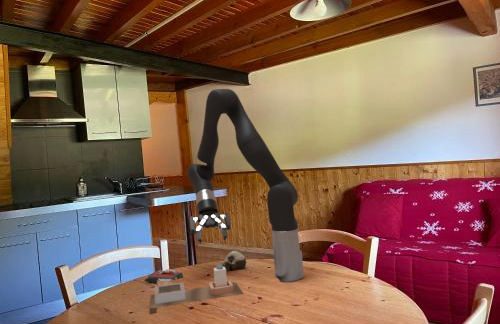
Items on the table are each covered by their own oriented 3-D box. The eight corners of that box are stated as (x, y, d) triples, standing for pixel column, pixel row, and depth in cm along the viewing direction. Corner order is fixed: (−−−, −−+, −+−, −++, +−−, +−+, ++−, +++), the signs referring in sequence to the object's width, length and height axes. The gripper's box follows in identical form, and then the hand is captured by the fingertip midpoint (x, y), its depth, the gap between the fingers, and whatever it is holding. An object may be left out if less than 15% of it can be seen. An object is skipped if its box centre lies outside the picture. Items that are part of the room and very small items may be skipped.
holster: (230, 285, 125) (229, 279, 125) (234, 292, 118) (233, 285, 118) (209, 288, 124) (208, 282, 124) (211, 295, 117) (211, 289, 117)
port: (183, 291, 123) (183, 281, 123) (185, 300, 114) (184, 290, 114) (155, 295, 121) (154, 285, 121) (155, 305, 112) (154, 294, 112)
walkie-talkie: (141, 285, 138) (189, 288, 131) (140, 273, 138) (188, 276, 131) (155, 278, 147) (201, 280, 139) (154, 266, 147) (200, 268, 139)
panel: (236, 286, 128) (236, 282, 128) (243, 298, 117) (243, 293, 117) (151, 299, 122) (150, 294, 122) (150, 313, 110) (149, 308, 110)
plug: (225, 288, 123) (223, 263, 123) (227, 291, 120) (225, 266, 120) (215, 289, 122) (213, 264, 122) (216, 293, 119) (214, 267, 119)
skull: (211, 273, 143) (217, 248, 150) (222, 284, 150) (227, 260, 157) (240, 273, 139) (245, 247, 145) (250, 285, 146) (254, 260, 153)
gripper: (187, 199, 139) (192, 236, 128) (225, 196, 142) (233, 231, 131) (187, 212, 144) (192, 248, 133) (224, 208, 147) (232, 244, 136)
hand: (212, 240), depth 132 cm, fingers open, 8 cm apart
